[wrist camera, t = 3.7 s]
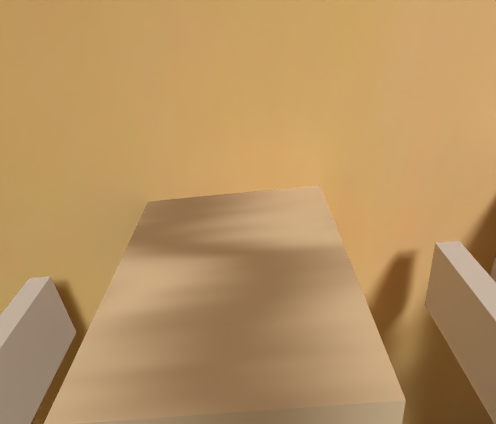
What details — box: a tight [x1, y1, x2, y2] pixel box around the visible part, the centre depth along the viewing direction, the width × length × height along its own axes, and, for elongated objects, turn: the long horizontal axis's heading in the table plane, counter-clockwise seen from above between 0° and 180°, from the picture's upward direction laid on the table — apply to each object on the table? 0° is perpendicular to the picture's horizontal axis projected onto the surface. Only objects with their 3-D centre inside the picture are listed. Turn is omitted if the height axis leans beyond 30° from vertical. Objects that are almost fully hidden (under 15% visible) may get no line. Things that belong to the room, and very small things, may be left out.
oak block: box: [44, 185, 406, 424], centre depth 11 cm, size 6×6×8 cm
